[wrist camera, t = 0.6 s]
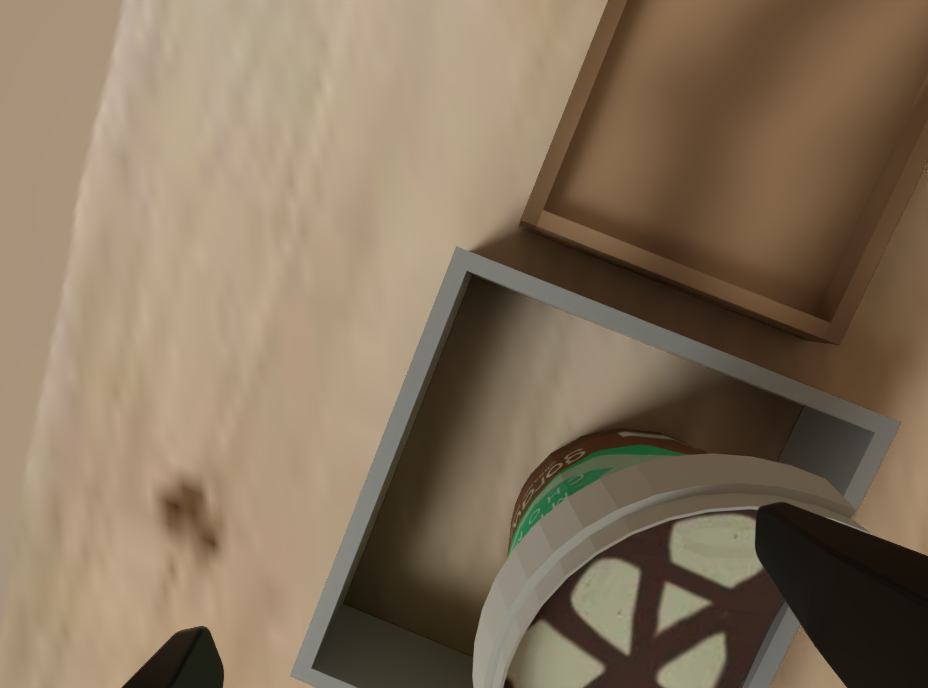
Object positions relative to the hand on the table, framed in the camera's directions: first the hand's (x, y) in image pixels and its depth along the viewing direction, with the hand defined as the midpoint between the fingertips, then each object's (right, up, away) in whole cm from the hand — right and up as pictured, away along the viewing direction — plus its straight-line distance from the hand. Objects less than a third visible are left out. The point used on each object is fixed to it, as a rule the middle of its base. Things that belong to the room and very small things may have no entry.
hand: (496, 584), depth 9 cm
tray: (+10, +14, +12) cm, 21 cm away
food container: (+4, -3, +14) cm, 14 cm away
